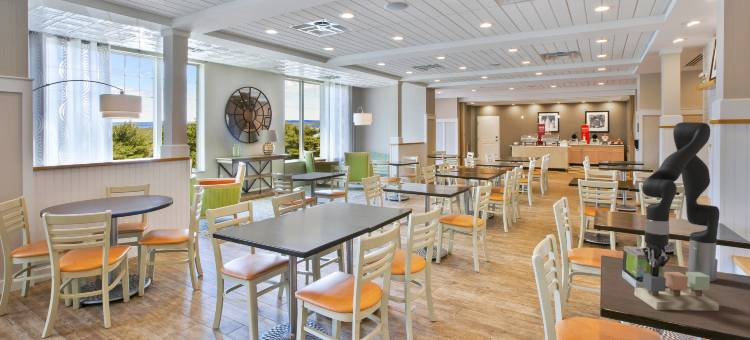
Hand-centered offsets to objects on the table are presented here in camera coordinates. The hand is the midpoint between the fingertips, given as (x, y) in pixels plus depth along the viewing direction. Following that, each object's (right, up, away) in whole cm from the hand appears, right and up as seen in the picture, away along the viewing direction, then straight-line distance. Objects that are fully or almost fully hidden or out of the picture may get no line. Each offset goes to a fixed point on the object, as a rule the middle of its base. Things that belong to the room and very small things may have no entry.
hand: (654, 275), depth 156 cm
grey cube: (0, -5, +1) cm, 5 cm away
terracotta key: (+8, -4, 0) cm, 9 cm away
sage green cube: (+16, -4, 0) cm, 17 cm away
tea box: (+8, -9, +21) cm, 24 cm away
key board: (+8, -10, +1) cm, 13 cm away
